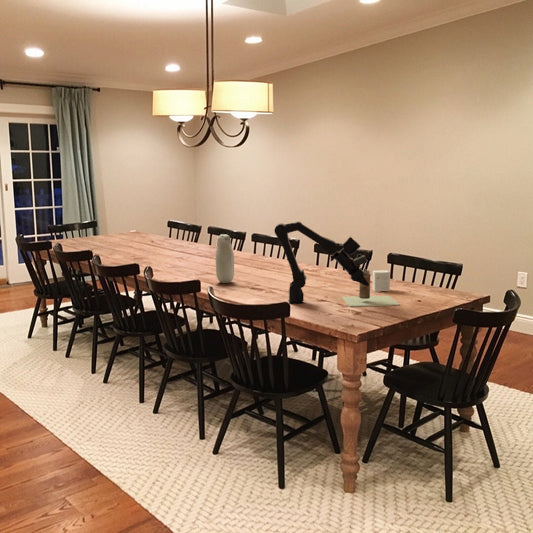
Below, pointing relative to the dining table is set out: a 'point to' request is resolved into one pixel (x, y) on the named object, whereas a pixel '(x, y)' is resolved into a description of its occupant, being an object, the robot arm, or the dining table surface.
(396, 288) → the dining table surface
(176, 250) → the dining table surface
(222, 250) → the white tall cylinder
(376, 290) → the small box
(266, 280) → the dining table surface
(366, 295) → the pepper mill
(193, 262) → the dining table surface
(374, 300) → the placemat
